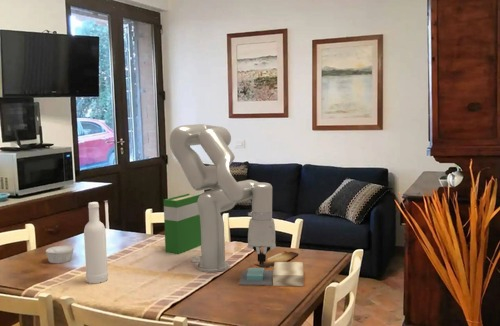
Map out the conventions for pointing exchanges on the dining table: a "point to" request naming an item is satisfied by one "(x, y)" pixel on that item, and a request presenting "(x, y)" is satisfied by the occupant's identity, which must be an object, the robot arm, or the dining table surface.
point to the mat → (266, 281)
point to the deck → (288, 274)
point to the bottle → (95, 247)
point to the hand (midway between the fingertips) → (261, 263)
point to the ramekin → (59, 254)
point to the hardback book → (181, 224)
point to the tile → (255, 274)
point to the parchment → (278, 258)
